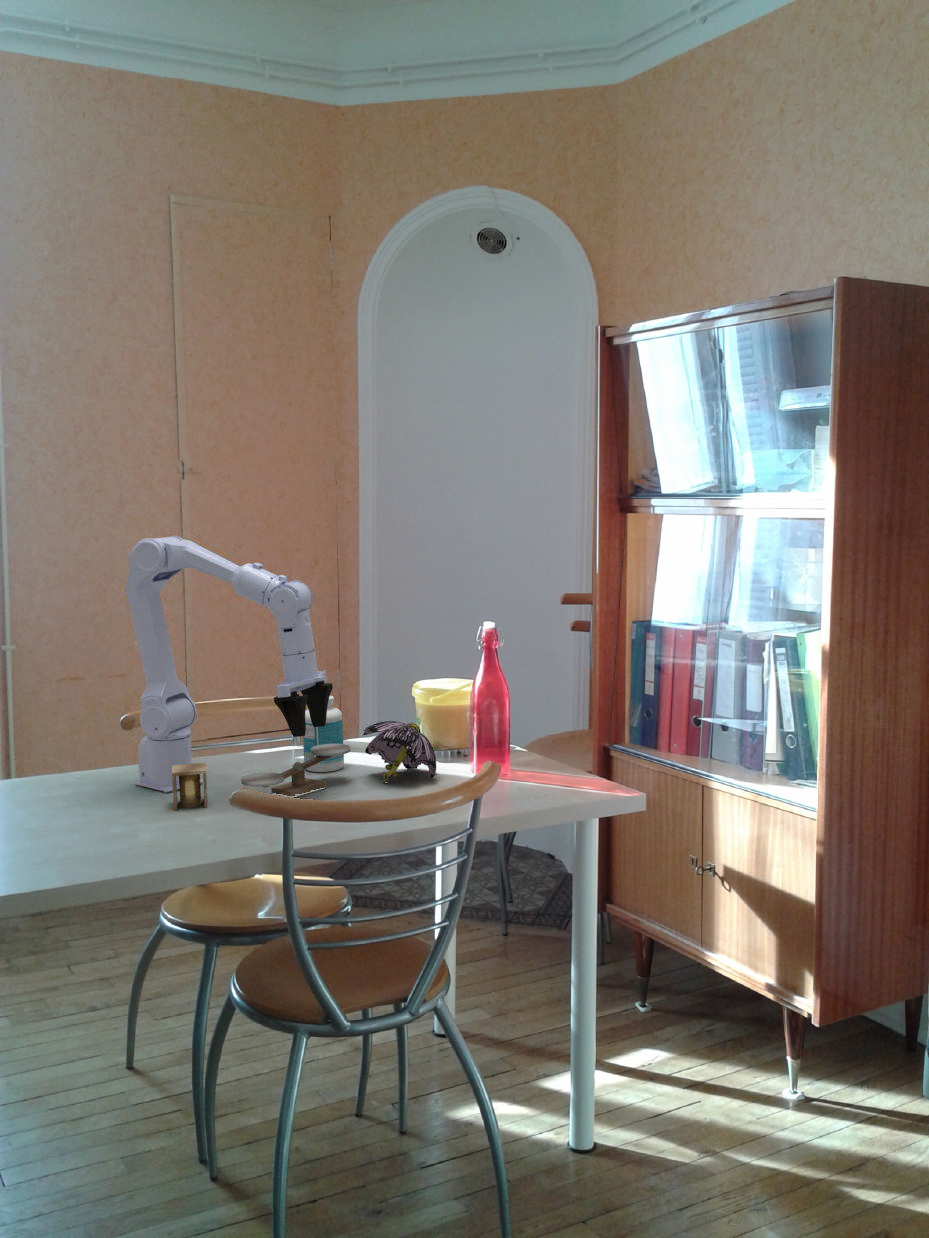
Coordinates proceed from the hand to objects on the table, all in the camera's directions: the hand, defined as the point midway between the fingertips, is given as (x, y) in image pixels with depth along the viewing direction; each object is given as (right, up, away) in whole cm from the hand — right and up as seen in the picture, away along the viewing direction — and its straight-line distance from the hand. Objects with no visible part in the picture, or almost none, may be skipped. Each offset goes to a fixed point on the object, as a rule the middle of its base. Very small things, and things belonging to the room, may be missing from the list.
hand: (309, 731), depth 190 cm
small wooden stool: (-19, -12, -4) cm, 23 cm away
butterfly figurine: (+15, -10, +10) cm, 21 cm away
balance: (-2, -11, +3) cm, 11 cm away
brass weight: (-19, -12, -4) cm, 23 cm away
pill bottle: (0, -9, +18) cm, 21 cm away
